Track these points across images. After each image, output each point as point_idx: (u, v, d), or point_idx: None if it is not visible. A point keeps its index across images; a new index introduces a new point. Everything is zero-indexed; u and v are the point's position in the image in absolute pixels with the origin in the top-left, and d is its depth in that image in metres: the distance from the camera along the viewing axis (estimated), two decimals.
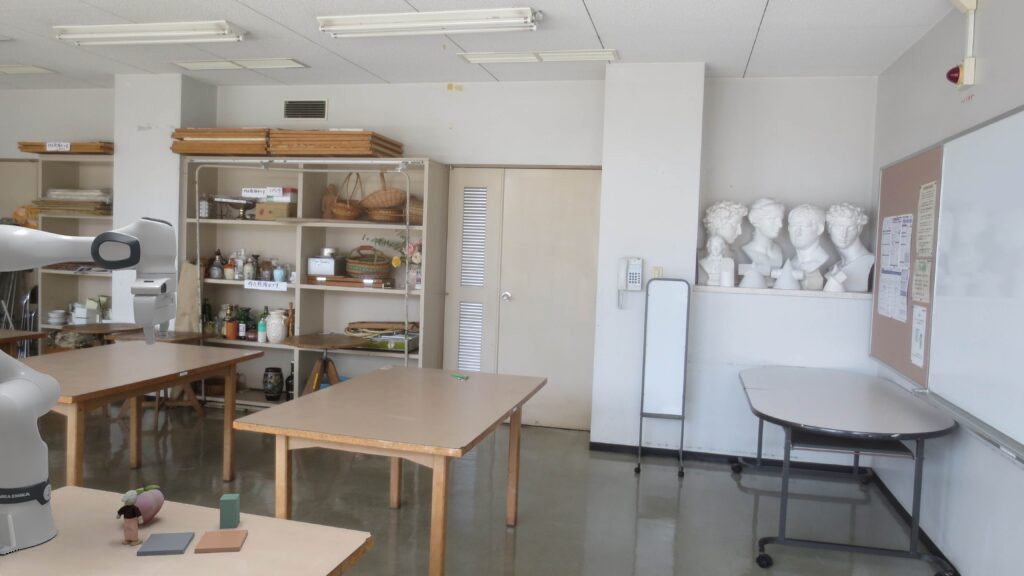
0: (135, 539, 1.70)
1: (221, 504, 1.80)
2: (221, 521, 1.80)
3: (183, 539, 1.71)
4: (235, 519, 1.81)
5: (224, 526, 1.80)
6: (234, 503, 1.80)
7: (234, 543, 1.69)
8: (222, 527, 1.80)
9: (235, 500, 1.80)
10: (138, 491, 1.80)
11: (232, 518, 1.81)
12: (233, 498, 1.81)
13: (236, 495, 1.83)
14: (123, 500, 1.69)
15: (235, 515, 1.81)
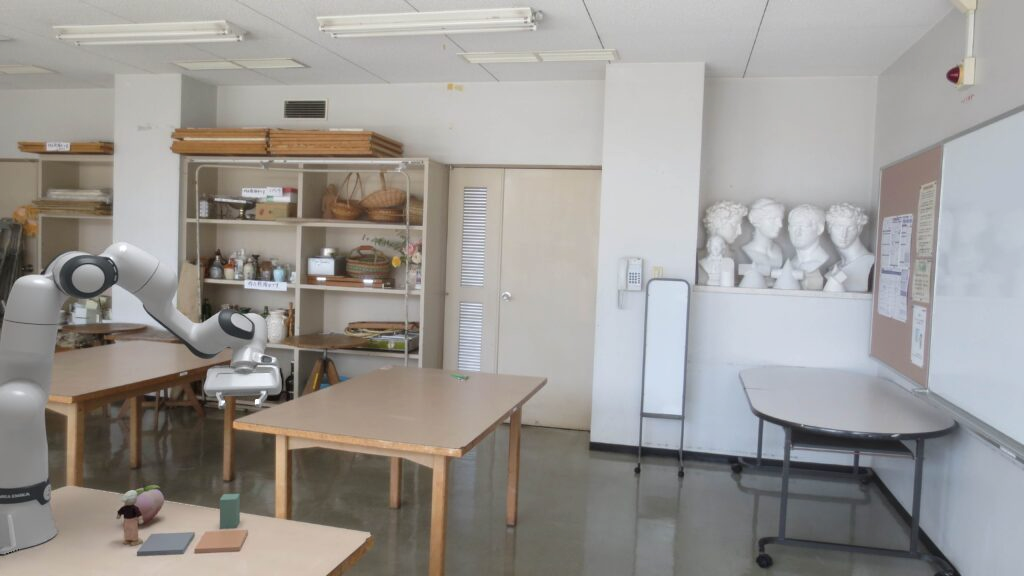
0: (135, 539, 1.70)
1: (221, 504, 1.80)
2: (221, 521, 1.80)
3: (183, 539, 1.71)
4: (235, 519, 1.81)
5: (224, 526, 1.80)
6: (234, 503, 1.80)
7: (234, 543, 1.69)
8: (222, 527, 1.80)
9: (235, 500, 1.80)
10: (138, 491, 1.80)
11: (232, 518, 1.81)
12: (233, 498, 1.81)
13: (236, 495, 1.83)
14: (123, 500, 1.69)
15: (235, 515, 1.81)
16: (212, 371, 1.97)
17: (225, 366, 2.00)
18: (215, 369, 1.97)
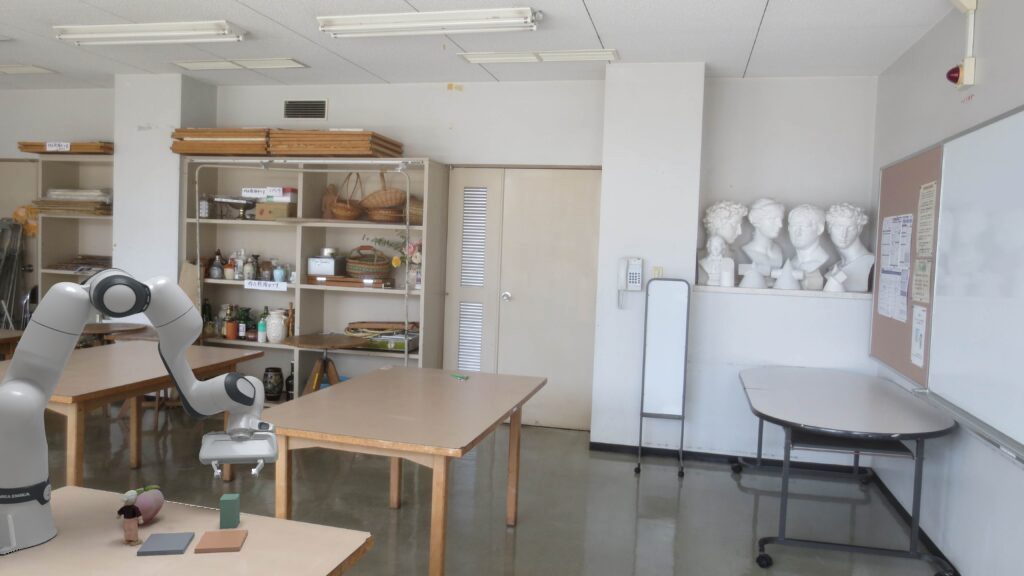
0: (135, 539, 1.70)
1: (221, 504, 1.80)
2: (221, 521, 1.80)
3: (183, 539, 1.71)
4: (235, 519, 1.81)
5: (224, 526, 1.80)
6: (234, 503, 1.80)
7: (234, 543, 1.69)
8: (222, 527, 1.80)
9: (235, 500, 1.80)
10: (138, 491, 1.80)
11: (232, 518, 1.81)
12: (233, 498, 1.81)
13: (236, 495, 1.83)
14: (123, 500, 1.69)
15: (235, 515, 1.81)
16: (208, 438, 1.93)
17: (221, 432, 1.96)
18: (211, 436, 1.94)
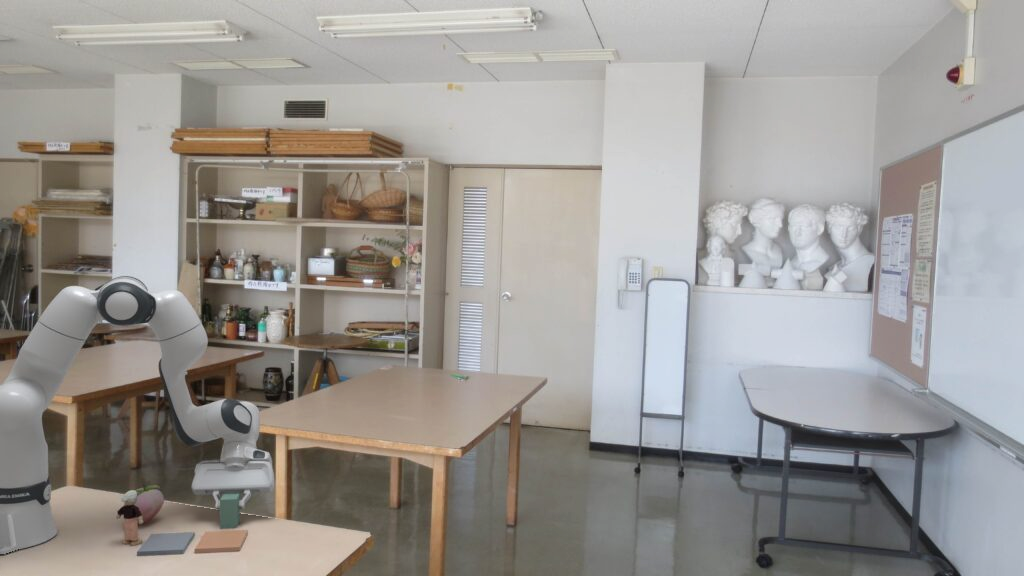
0: (135, 539, 1.70)
1: (221, 504, 1.80)
2: (221, 521, 1.80)
3: (183, 539, 1.71)
4: (235, 519, 1.81)
5: (224, 526, 1.80)
6: (234, 503, 1.80)
7: (234, 543, 1.69)
8: (222, 527, 1.80)
9: (235, 500, 1.80)
10: (138, 491, 1.80)
11: (232, 517, 1.81)
12: (233, 498, 1.81)
13: (236, 495, 1.83)
14: (123, 500, 1.69)
15: (235, 515, 1.81)
16: (201, 467, 1.86)
17: (214, 461, 1.89)
18: (204, 465, 1.87)
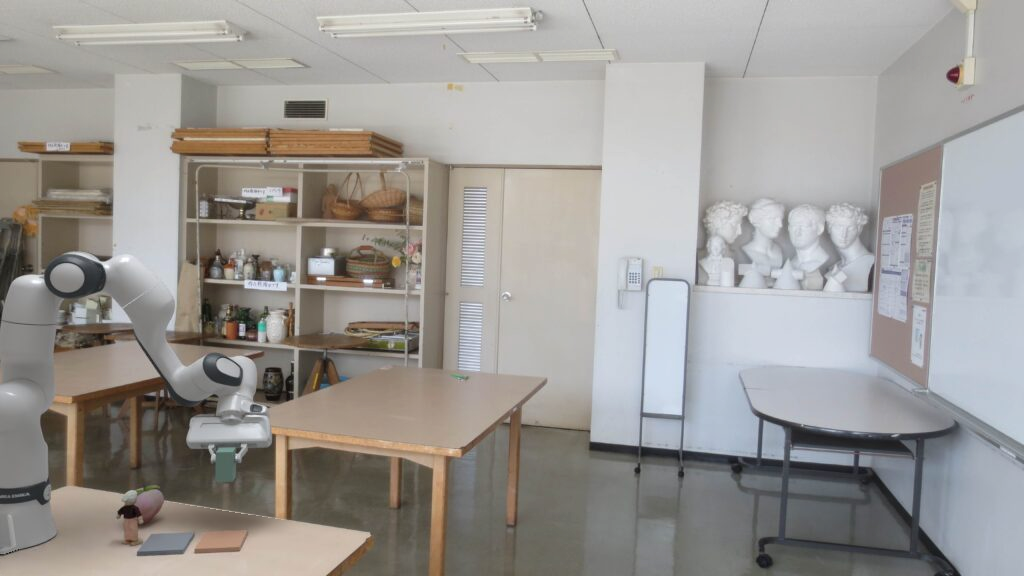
0: (135, 539, 1.70)
1: (217, 457, 1.74)
2: (217, 474, 1.74)
3: (183, 539, 1.71)
4: (231, 473, 1.75)
5: (220, 480, 1.74)
6: (230, 456, 1.74)
7: (234, 543, 1.69)
8: (218, 481, 1.74)
9: (231, 453, 1.74)
10: (138, 491, 1.80)
11: (228, 471, 1.74)
12: (229, 451, 1.75)
13: (232, 448, 1.77)
14: (123, 500, 1.69)
15: (231, 468, 1.75)
16: (196, 421, 1.80)
17: (210, 415, 1.83)
18: (199, 418, 1.81)
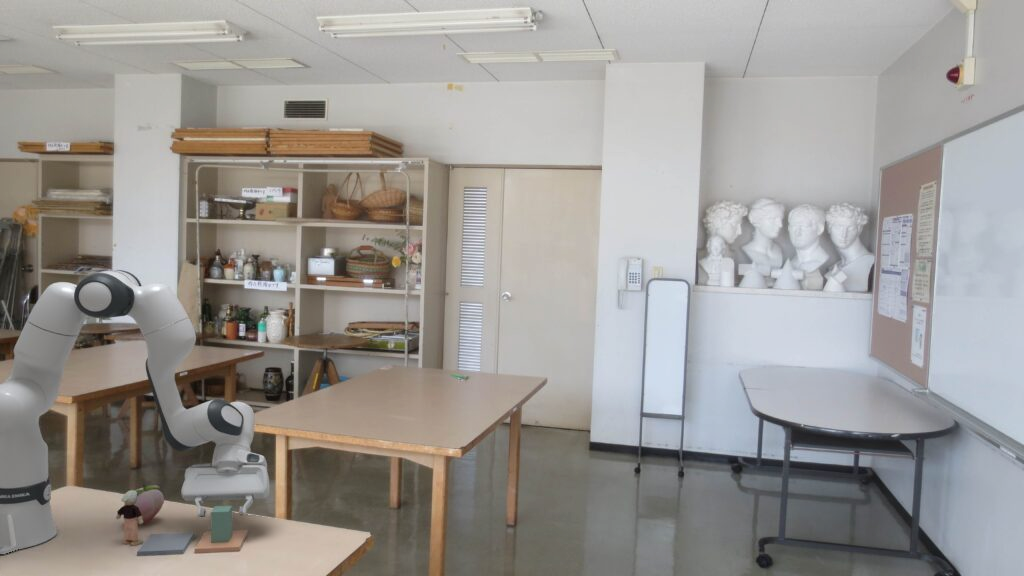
0: (135, 539, 1.70)
1: (212, 517, 1.69)
2: (212, 535, 1.69)
3: (183, 539, 1.71)
4: (227, 532, 1.70)
5: (215, 540, 1.70)
6: (226, 516, 1.70)
7: (234, 543, 1.69)
8: (213, 541, 1.70)
9: (227, 512, 1.70)
10: (138, 491, 1.80)
11: (224, 531, 1.70)
12: (225, 511, 1.70)
13: (228, 507, 1.72)
14: (123, 500, 1.69)
15: (227, 528, 1.70)
16: (191, 472, 1.75)
17: (206, 465, 1.78)
18: (195, 469, 1.76)
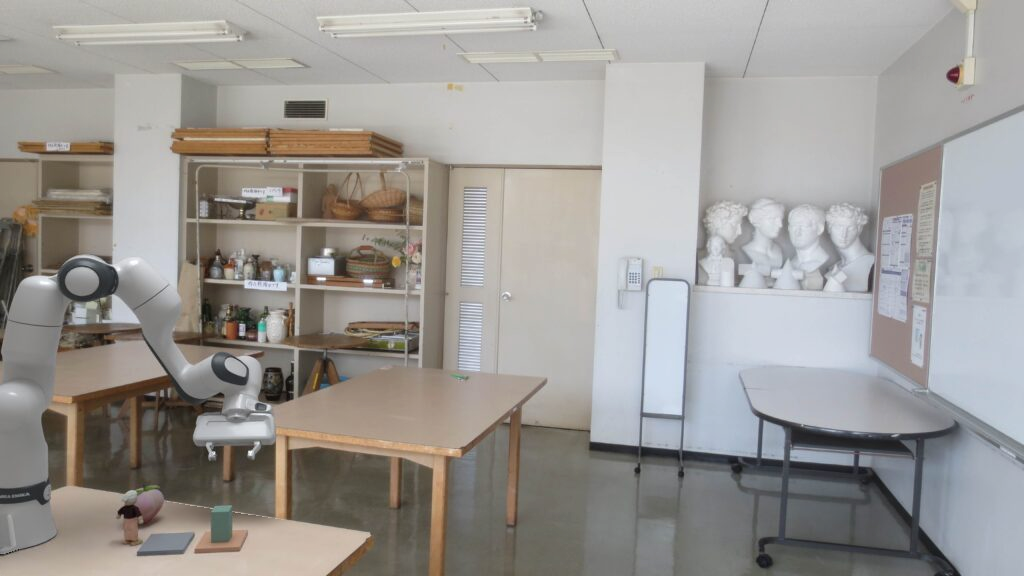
0: (135, 539, 1.70)
1: (212, 517, 1.69)
2: (212, 535, 1.69)
3: (183, 539, 1.71)
4: (227, 532, 1.70)
5: (215, 540, 1.70)
6: (226, 516, 1.70)
7: (234, 543, 1.69)
8: (213, 541, 1.70)
9: (227, 512, 1.70)
10: (138, 491, 1.80)
11: (224, 531, 1.70)
12: (225, 511, 1.70)
13: (228, 507, 1.72)
14: (123, 500, 1.69)
15: (227, 528, 1.70)
16: (202, 419, 1.85)
17: (216, 413, 1.88)
18: (205, 417, 1.86)
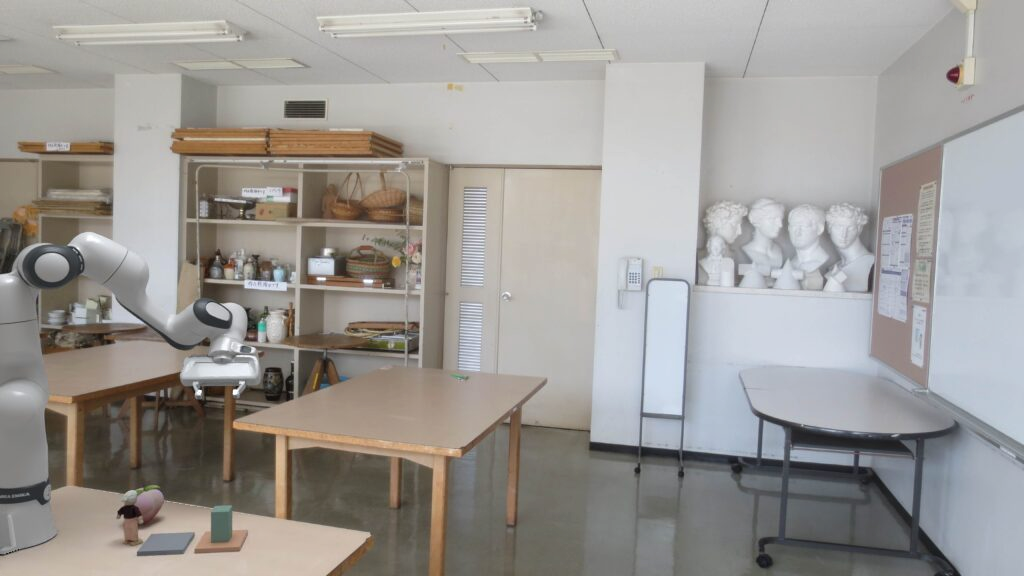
0: (135, 539, 1.70)
1: (212, 517, 1.69)
2: (212, 535, 1.69)
3: (183, 539, 1.71)
4: (227, 532, 1.70)
5: (215, 540, 1.70)
6: (226, 516, 1.70)
7: (234, 543, 1.69)
8: (213, 541, 1.70)
9: (227, 512, 1.70)
10: (138, 491, 1.80)
11: (224, 531, 1.70)
12: (225, 511, 1.70)
13: (228, 507, 1.72)
14: (123, 500, 1.69)
15: (227, 528, 1.70)
16: (189, 360, 1.92)
17: (203, 355, 1.95)
18: (192, 358, 1.93)
